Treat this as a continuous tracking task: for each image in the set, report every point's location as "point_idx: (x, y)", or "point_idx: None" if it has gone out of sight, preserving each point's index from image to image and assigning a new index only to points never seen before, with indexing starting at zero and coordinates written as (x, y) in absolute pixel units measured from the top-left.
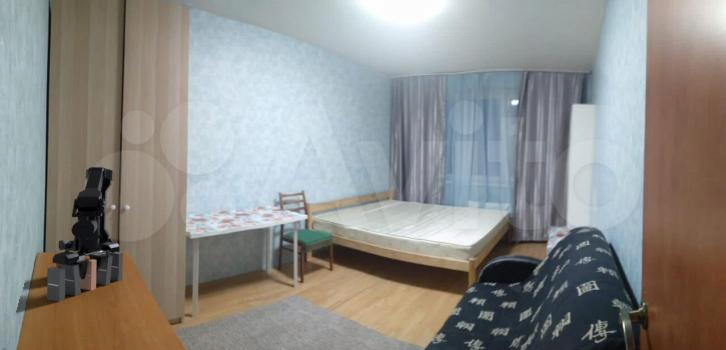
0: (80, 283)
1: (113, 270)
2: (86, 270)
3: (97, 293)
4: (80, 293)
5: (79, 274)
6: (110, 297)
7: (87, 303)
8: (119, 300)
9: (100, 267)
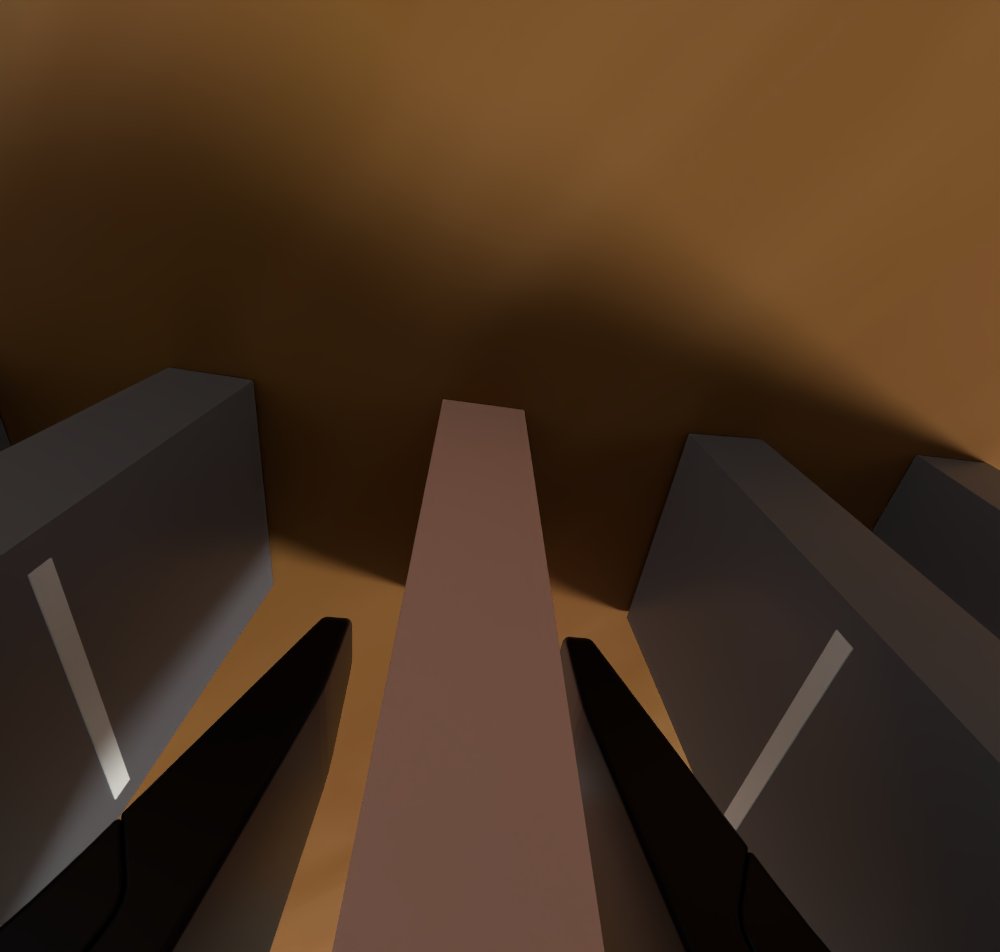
0: (435, 448)
1: None
2: (269, 948)
3: (373, 700)
4: (267, 587)
5: (239, 721)
6: (338, 828)
7: (143, 782)
8: (317, 892)
9: (833, 776)
